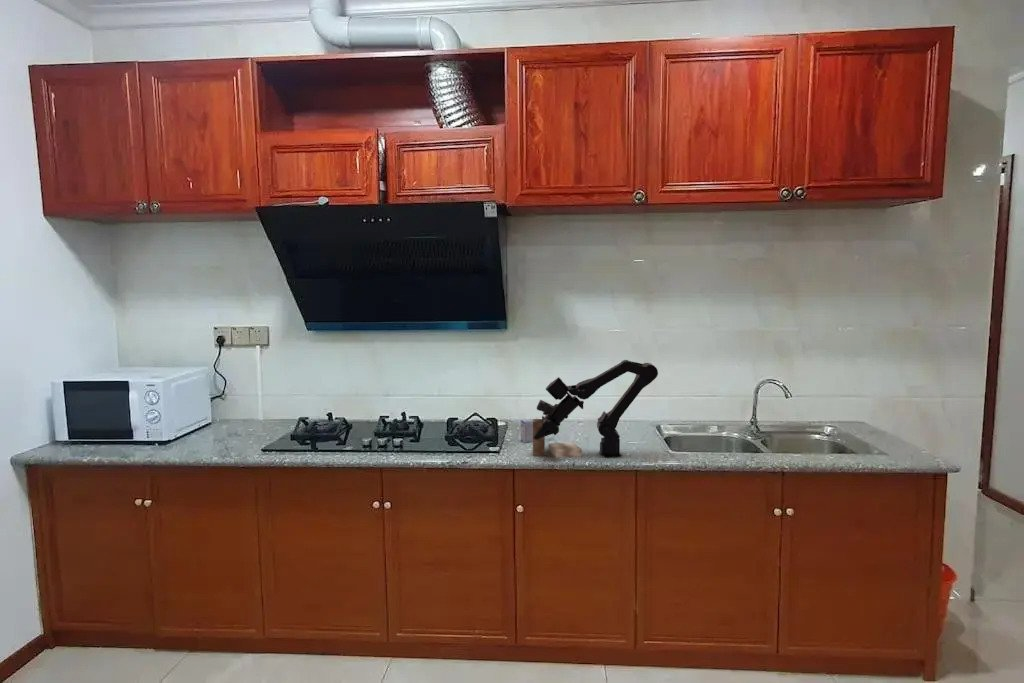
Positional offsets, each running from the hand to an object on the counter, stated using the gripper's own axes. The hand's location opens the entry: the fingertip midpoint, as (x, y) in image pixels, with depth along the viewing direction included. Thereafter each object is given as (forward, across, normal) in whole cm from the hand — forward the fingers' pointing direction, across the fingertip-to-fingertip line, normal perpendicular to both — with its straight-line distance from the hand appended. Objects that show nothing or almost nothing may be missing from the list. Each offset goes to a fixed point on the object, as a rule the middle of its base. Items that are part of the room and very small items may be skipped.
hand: (535, 436), depth 227 cm
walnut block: (+4, 0, +6) cm, 7 cm away
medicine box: (+6, -19, +4) cm, 20 cm away
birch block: (-3, -2, +13) cm, 13 cm away
